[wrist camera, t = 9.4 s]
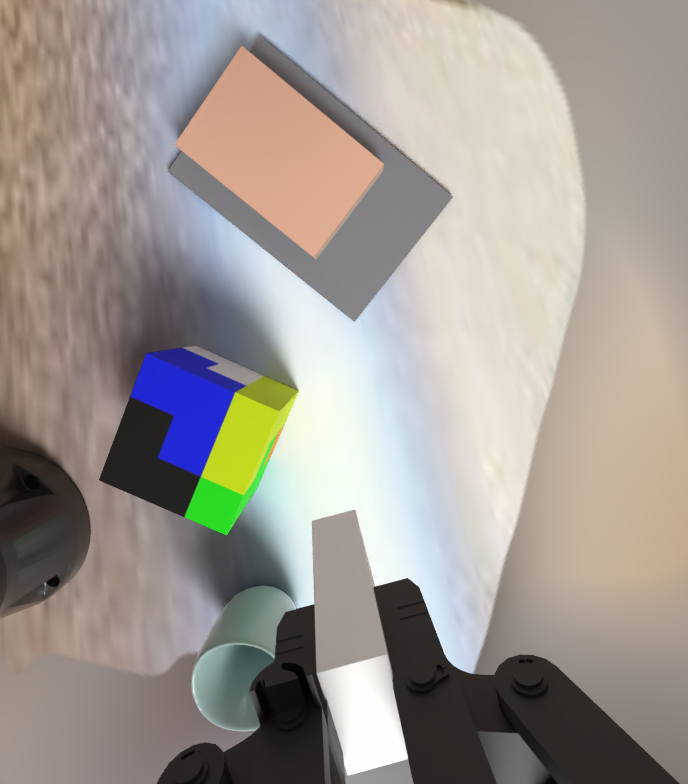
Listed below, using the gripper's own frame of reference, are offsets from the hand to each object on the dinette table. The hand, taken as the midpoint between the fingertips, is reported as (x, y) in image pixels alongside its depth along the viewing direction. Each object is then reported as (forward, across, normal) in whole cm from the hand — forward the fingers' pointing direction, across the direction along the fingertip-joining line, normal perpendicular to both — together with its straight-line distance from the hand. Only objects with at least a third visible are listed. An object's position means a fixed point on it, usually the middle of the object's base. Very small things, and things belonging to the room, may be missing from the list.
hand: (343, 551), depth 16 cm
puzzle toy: (+29, -9, -1) cm, 30 cm away
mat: (+29, +4, +17) cm, 34 cm away
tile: (+27, +6, +13) cm, 31 cm away
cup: (+27, -10, -20) cm, 35 cm away
